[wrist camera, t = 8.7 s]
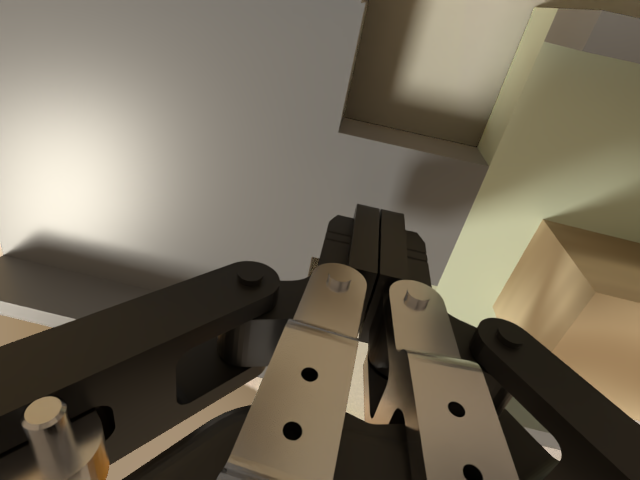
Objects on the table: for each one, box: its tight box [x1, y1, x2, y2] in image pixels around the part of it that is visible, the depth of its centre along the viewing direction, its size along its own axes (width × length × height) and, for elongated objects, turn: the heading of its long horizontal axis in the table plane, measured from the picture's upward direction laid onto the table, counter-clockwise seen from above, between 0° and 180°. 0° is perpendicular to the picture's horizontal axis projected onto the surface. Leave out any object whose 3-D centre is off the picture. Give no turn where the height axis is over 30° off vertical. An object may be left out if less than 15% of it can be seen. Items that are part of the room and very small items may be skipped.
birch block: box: [493, 219, 640, 421], centre depth 13 cm, size 4×4×4 cm
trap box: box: [0, 0, 640, 450], centre depth 14 cm, size 14×26×4 cm, turn 79°
